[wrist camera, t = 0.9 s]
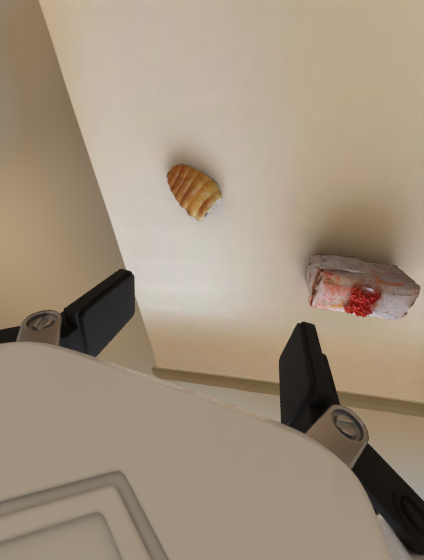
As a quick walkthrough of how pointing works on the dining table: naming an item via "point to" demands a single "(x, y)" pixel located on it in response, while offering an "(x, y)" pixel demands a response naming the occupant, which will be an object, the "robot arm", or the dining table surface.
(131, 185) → the dining table surface
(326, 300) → the food item
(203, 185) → the pastry
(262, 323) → the dining table surface
